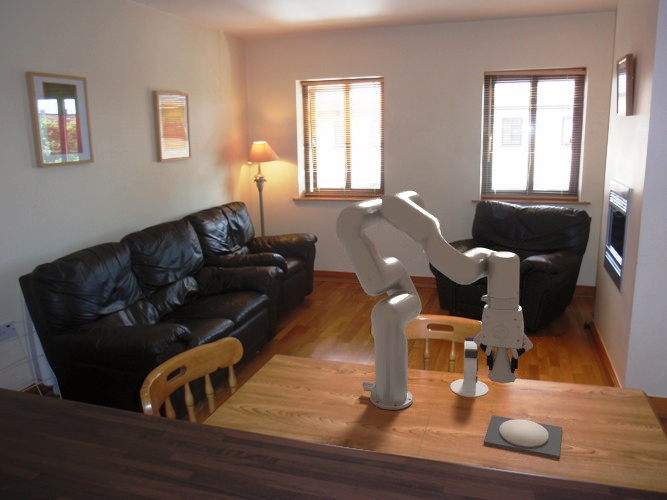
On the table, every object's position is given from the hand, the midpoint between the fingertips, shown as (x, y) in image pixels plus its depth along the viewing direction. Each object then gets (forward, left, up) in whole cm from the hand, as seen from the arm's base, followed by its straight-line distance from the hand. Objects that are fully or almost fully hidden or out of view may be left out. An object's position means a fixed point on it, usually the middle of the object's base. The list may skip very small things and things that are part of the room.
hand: (502, 369), depth 147 cm
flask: (0, 0, -3) cm, 3 cm away
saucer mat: (+6, 0, -18) cm, 19 cm away
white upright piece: (-12, +22, -18) cm, 31 cm away
